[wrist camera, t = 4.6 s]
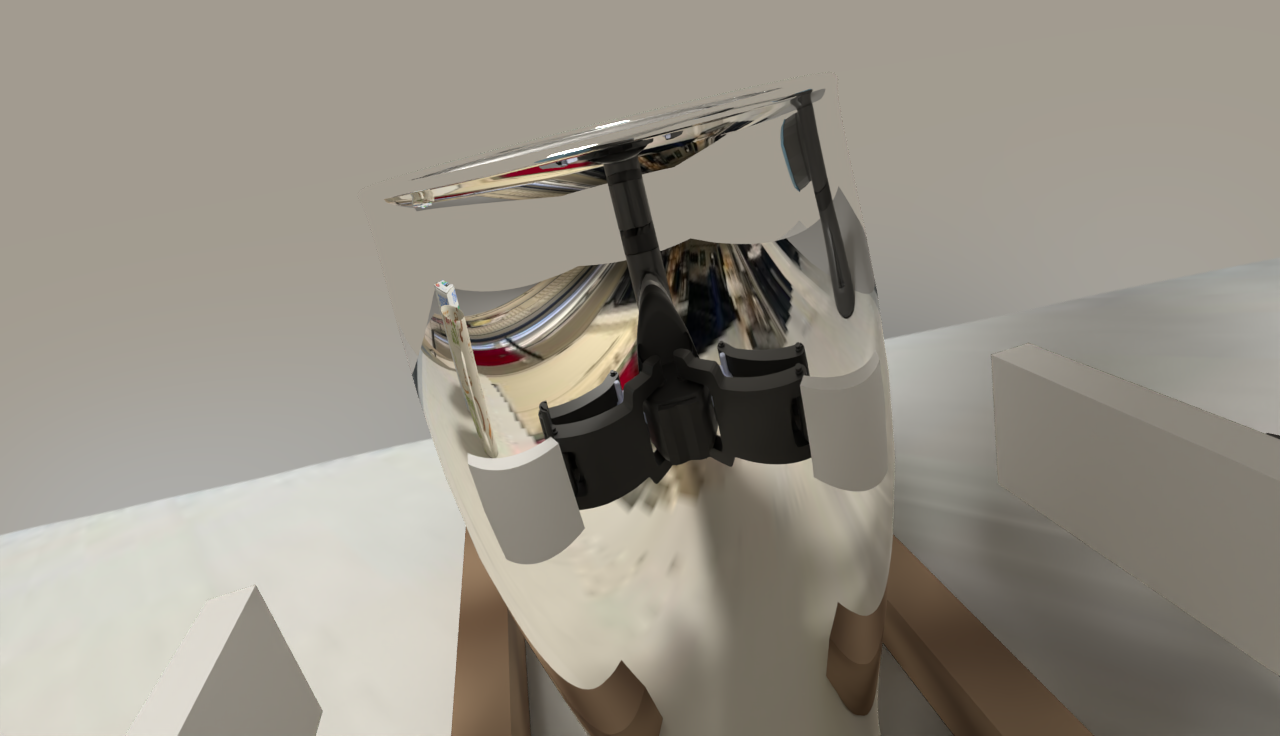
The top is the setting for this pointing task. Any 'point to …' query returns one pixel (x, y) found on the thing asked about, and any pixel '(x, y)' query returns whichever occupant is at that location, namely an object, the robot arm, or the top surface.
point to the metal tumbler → (664, 406)
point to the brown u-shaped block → (913, 632)
